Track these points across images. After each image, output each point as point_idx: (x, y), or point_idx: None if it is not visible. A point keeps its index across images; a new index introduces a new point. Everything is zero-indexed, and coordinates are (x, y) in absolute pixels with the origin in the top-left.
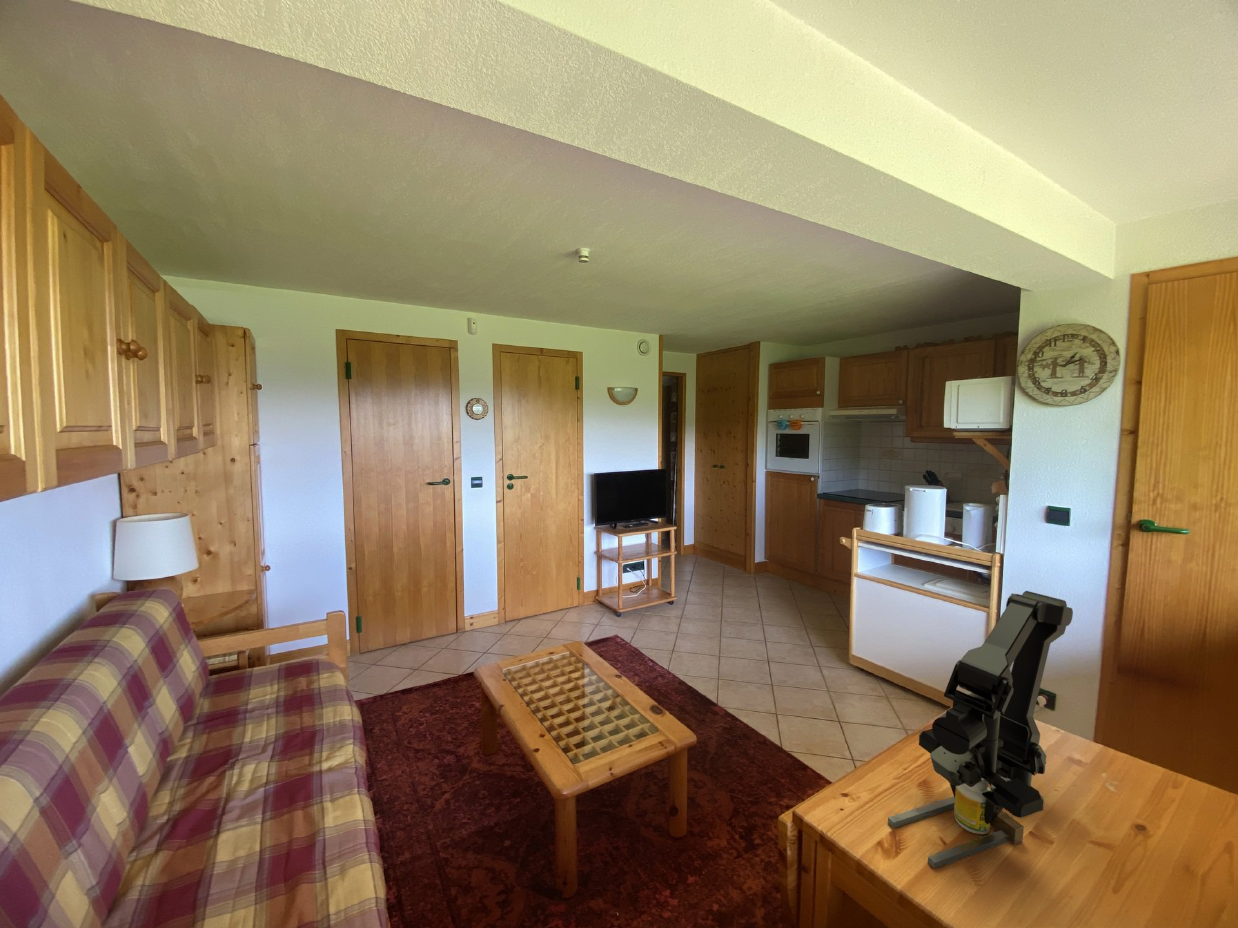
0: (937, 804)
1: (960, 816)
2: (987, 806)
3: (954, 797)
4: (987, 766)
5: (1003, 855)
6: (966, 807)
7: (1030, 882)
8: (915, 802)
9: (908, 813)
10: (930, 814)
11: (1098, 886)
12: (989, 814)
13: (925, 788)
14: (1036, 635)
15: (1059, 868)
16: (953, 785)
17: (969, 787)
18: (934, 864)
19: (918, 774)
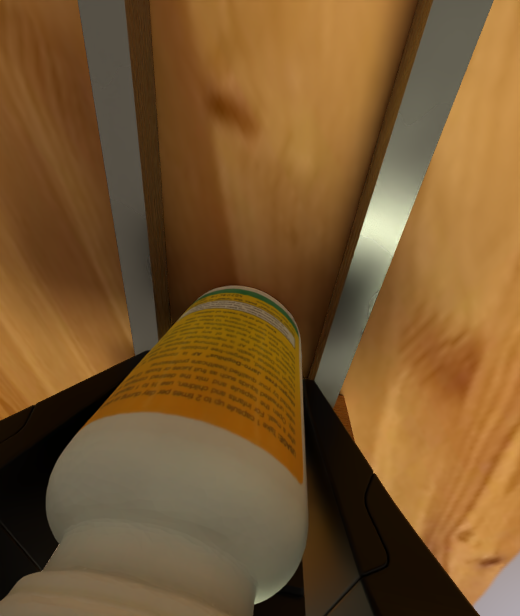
0: (359, 298)
1: (241, 303)
2: (22, 431)
3: (313, 380)
4: None
5: (110, 292)
6: (187, 344)
7: (10, 259)
8: (448, 237)
9: (463, 10)
10: (356, 221)
11: (11, 390)
12: (70, 387)
13: (442, 356)
14: None
15: (58, 374)
16: (325, 444)
17: (120, 538)
18: None
19: (494, 400)
